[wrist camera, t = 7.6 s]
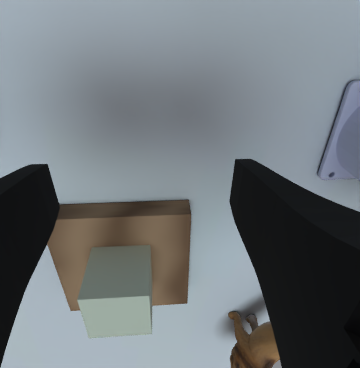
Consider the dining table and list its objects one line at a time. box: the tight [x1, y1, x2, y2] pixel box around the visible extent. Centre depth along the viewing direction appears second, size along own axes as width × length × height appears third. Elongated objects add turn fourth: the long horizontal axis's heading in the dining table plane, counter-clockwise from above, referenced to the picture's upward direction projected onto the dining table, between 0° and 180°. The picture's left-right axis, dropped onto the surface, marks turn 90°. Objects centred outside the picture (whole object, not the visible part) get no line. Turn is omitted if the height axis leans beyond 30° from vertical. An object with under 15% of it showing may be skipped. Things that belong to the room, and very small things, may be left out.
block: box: [77, 245, 152, 338], centre depth 22 cm, size 5×5×5 cm
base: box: [47, 200, 191, 311], centre depth 25 cm, size 12×12×2 cm
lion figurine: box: [228, 312, 280, 368], centre depth 29 cm, size 15×5×9 cm, turn 151°
